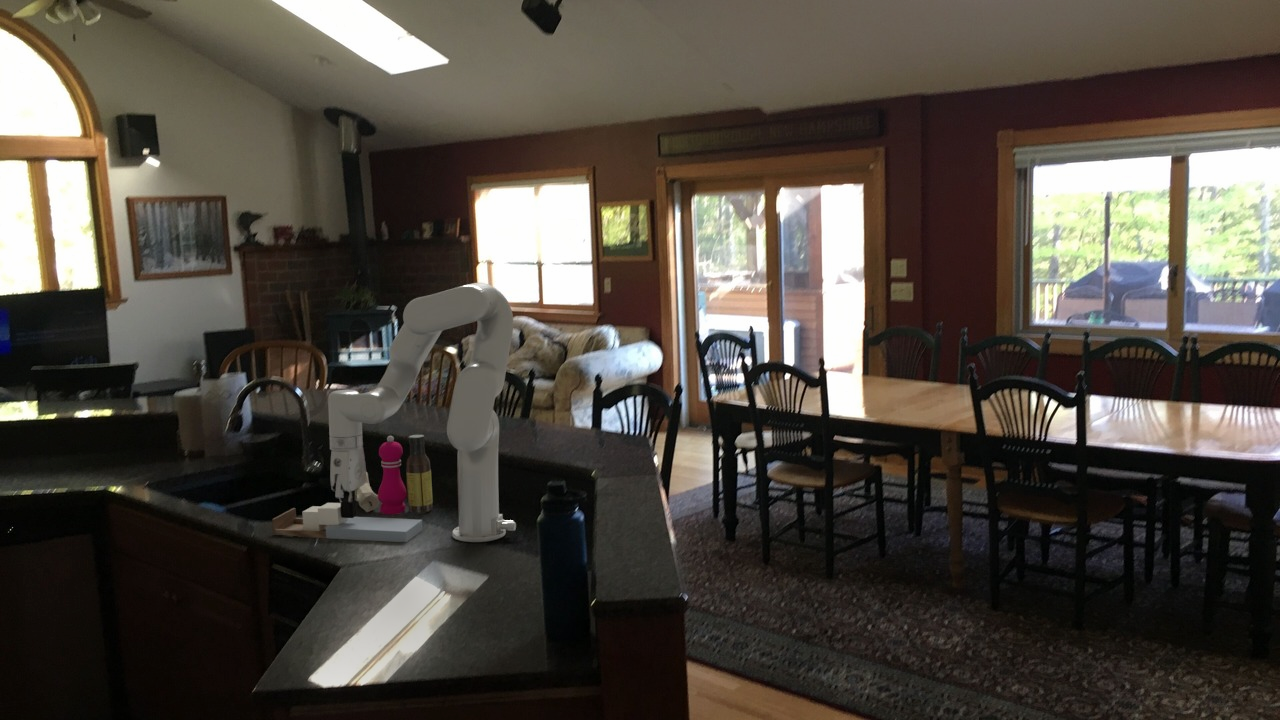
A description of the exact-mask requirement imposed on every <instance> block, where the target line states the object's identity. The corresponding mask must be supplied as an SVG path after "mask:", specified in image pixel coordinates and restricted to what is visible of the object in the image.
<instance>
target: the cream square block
mask: <svg viewBox="0 0 1280 720" xmlns="http://www.w3.org/2000/svg"><path fill="white" fill-rule="evenodd" d="M321 506H322V505H321ZM321 506H318V505H317V506H315V505H312V506H310V507H309V508H307V509H305V510H303V511H302V512H301V513H302V518H303V530H311V531H322V530H324V529H326V528H327V527H328V526H329V525H319V519H318V508H319V507H321Z"/></svg>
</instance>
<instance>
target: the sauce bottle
mask: <svg viewBox="0 0 1280 720" xmlns="http://www.w3.org/2000/svg"><path fill="white" fill-rule="evenodd" d="M408 443H409V456H408V457H407V460H406V464H405V465H406V486H407V488H406V492H407V502H408V503H407V505H408V511H409V512H410V513H413V514H425V513H428V512H431V511H432V510H433V502H434V501H433V486H432V485H433V484H432V469H431V461H430V459H429V457H428V456H427V454H426V449H425V435H424V434H413V435H409V436H408Z"/></svg>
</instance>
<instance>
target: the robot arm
mask: <svg viewBox="0 0 1280 720" xmlns="http://www.w3.org/2000/svg"><path fill="white" fill-rule="evenodd" d="M403 310H404V311H403V314H402V319H403V324H402V325H401V328H400V329H399V330H398V332H397V334H396V336H395V337H394V339H393V341H392V342H391V344H390V346H389V350H388V352H389V356H390V357H389V358H390V360H389V364H388V366H387V368H386V370H385V372H384V374H383V376H382V377H381V379H380V381H379V383H378V384H377V386H376V387H375V389H372V390H370V391H366V392H364V393H362V392H361V393H360V392H359V391H358V390H355V389H339V390H334V391H331V392H330V393H329V395H328V397H327V398H328V399H327V404H328V405H327V406H328V408H327V409H328V427H329V428H328V429H329V432H328V434H329V450H330V451H331V452H330V453H331V454H330V467H329V468H330V470H329V471H330V473H329V474H330V475H329V476H330V478H329V479H330V489H331V490H332V491H333V492H335V495H334V496H335V497H334V498H336V499H339V503H341V517H342V518H354V517H357V515H358V514H357V500H356V499H357V490H358V489H359V487H361V486H363V485H364V484H365V483H366V472H367V468H366V467H367V466H366V460H365V459H366V457H365V452H364V447H363V446H364V442H363V423H364V424H367V425H368V424H369V425H374V424H379V423H381V422H383V421H385V420H386V419H388V418H390V417H392V416H393V415H395V414H396V413H397V412H398V411H399V410H400V408H401V407H402V405H403V403H404V401H405V400H406V399H407V396H408V395H409V393H410V392H411V390H412V388H413V386H414V385H415V382H416V380H417V377H418V375H419V374H420V371H421V368H422V366H423V364H424V362H425V361H426V359H427V358H428V355H429V354H430V352H431V351H432V349H433V347H434V346H435V344H436V342H437V340H438V339H439V337H440V335H441V334H442V332H443V331H445V330H449V329H452V328H457V327H460V326H463V325H467V324H471V323H475V322H477V328H476V332H475V336H474V341H473V344H472V350H471V351H472V352H471V356H470V359H469V360H470V361H469V363H468V365H467V366H466V367H464V368H463V369H461V371H460V372H459V374H458V376H457V378H456V381H455V383H454V388H453V392H452V397H451V402H450V409H449V413H448V419H447V424H446V435H447V438H448V441H449V443H450V444H451V445H452V447H453V448H454V449H456V451H457V462H456V464H457V499H458V500H457V503H458V504H457V505H458V507H457V508H458V526H456V527H454V529H453V530H452V535H451V536H452V538H453V539H455V540H456V541H457V540H458V541H459V542H467V543H485V542H486V543H487V542H491V541H495V540H499V539H501V538H503V537H504V536H506V533H507V531H514V532H515V531H516V528H517V522H515V520H511V519H510V520H508V519H506V520H505V519H504V518H503V517H504V516H503V515H504V514H503V513H500V507H499V506H500V503H499V499H500V498H499V443H500V442H499V440H500V439H499V438H500V421H499V417H498V414H497V413H496V412H495V410H494V406H495V400H496V398H497V396H499V395H500V394H501V392H502V391H503V389H504V386H505V380H506V373H507V367H508V362H509V356H510V350H511V344H512V340H513V339H512V338H513V332H514V315H513V314H514V313H513V310H512V308H511V305H510V303H509V301H508V299H507V298H506V296H505V295H504V294H503V293H502V292H501V291H499V290H498V289H497V288H496V287H495V286H492V285H491V284H488V283H485V282H472V283H469V284H464V285H461V286H456V287H454V288H453V287H452V288H451V289H447V290H444V291H440V292H436V293H432V294H429V295H424V296H418V297H416V298H413V299H411V300H410V301H409V302H408V303H407V304H406V306H405V307H404V309H403Z"/></svg>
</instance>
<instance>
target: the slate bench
mask: <svg viewBox="0 0 1280 720" xmlns="http://www.w3.org/2000/svg"><path fill="white" fill-rule="evenodd" d="M423 530H424V529H423V519H413V518H411V519H410V518H391V517H373V516H371V517H369V516H355V517H354V518H348V519H347V520H346V521H344V522H342V523H341V524H339V525H330V526H328V527H327V528H326V538H325V539H335V540H337V539H339V540H357V541H373V542H374V541H379V542H396V543H408V542H409V541H410V540H411V539H412V538H414V537H416V535H418V534H419V533H421V532H422V531H423Z"/></svg>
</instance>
